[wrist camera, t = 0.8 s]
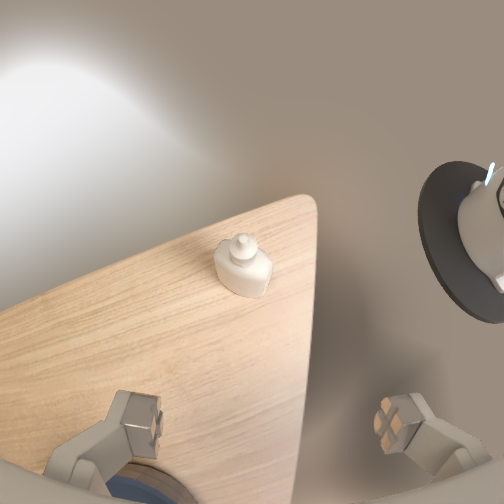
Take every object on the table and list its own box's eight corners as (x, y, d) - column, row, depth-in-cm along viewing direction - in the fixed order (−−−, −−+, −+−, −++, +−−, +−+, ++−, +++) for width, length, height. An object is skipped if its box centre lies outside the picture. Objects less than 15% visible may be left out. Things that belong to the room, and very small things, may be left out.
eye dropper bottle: (244, 252, 38) (245, 200, 27) (273, 289, 36) (287, 251, 25) (213, 272, 37) (200, 227, 26) (242, 312, 35) (241, 283, 24)
